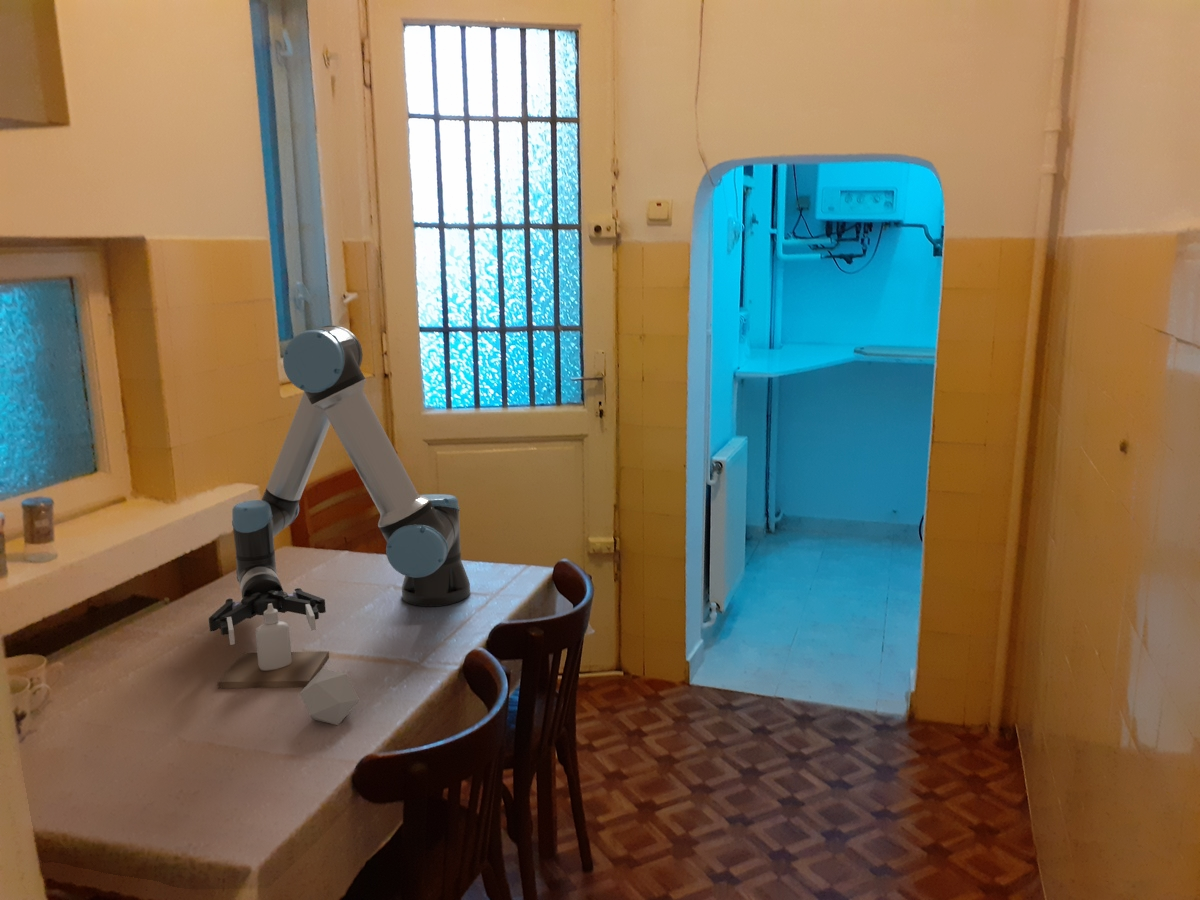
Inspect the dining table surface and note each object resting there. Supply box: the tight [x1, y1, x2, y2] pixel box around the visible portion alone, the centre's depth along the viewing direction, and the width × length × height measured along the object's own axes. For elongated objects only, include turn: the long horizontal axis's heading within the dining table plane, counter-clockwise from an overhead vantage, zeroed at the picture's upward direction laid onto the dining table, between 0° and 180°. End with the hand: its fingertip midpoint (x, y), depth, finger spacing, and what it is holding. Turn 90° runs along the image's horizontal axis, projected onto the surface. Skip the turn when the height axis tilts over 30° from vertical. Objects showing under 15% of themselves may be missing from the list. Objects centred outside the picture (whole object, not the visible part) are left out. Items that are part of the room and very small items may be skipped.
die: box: [299, 668, 360, 726], centre depth 142 cm, size 8×9×10 cm
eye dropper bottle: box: [255, 603, 292, 671], centre depth 158 cm, size 4×6×12 cm
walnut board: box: [217, 650, 330, 689], centre depth 159 cm, size 16×12×1 cm
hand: (273, 630), depth 155 cm, fingers open, 13 cm apart
